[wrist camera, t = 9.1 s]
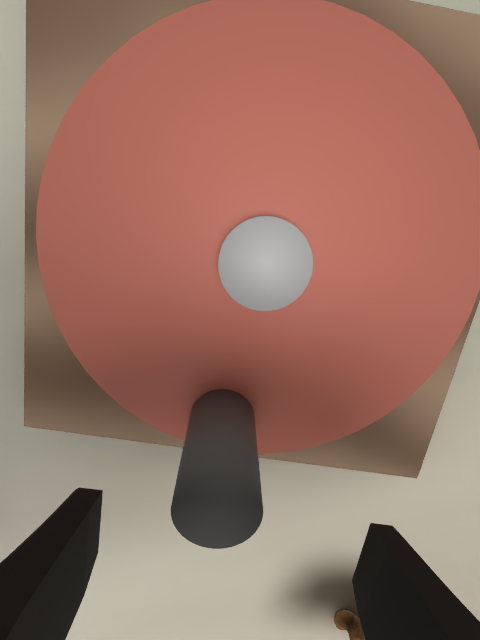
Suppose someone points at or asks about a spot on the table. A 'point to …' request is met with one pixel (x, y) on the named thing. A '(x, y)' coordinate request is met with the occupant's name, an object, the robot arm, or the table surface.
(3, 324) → the table surface
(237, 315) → the handwheel
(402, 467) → the walnut board
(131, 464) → the table surface
